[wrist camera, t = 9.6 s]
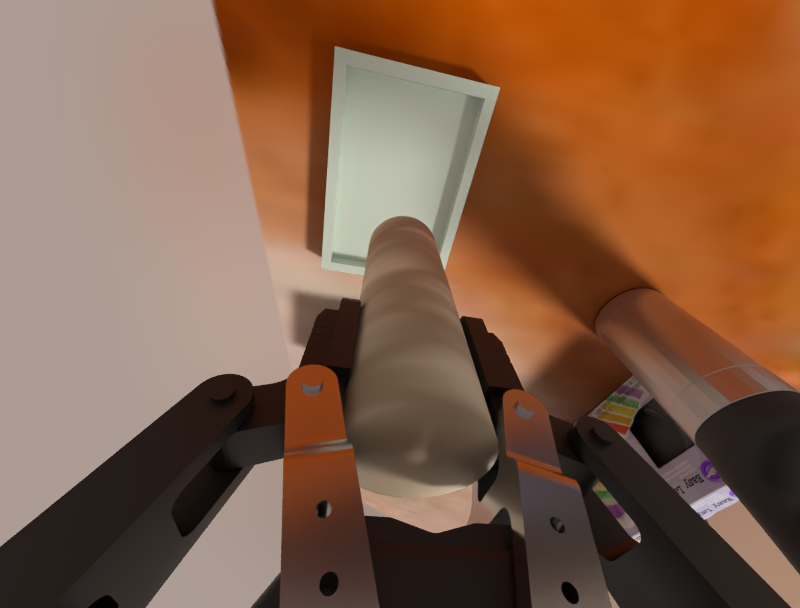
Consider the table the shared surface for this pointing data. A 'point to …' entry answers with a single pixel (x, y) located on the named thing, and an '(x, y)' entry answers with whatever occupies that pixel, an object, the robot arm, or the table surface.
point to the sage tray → (398, 152)
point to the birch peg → (413, 375)
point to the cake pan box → (660, 453)
